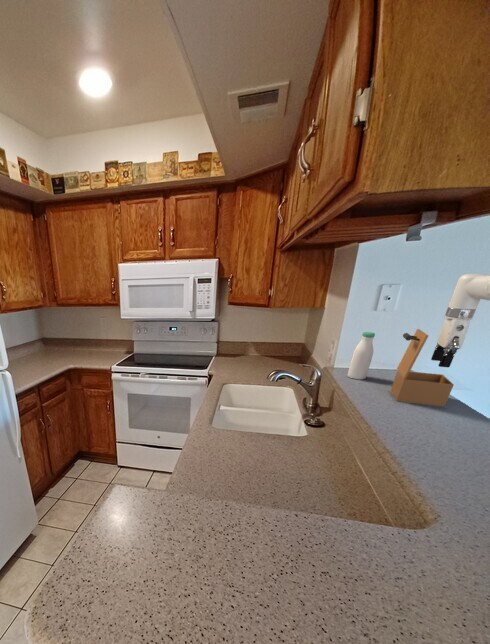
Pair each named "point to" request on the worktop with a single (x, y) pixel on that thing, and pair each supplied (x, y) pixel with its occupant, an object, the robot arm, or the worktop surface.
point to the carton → (422, 388)
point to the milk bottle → (362, 357)
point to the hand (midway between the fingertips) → (439, 363)
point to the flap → (412, 351)
